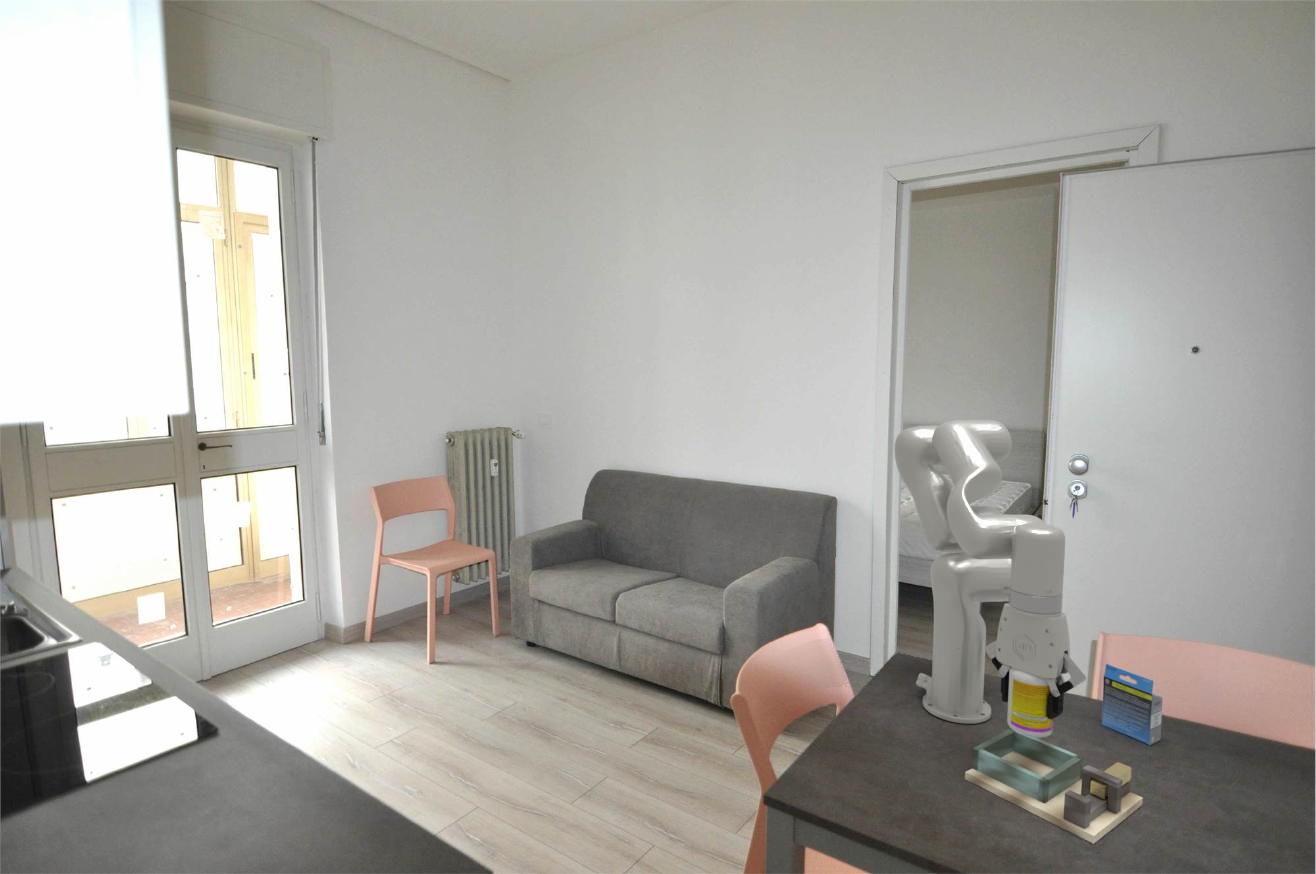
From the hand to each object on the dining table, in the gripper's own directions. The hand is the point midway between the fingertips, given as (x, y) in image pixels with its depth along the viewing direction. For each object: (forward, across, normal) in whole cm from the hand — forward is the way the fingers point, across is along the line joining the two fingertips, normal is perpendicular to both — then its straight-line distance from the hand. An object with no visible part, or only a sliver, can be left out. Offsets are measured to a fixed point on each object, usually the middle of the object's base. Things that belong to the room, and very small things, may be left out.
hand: (1030, 707), depth 118 cm
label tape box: (+13, +3, +31) cm, 34 cm away
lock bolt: (+10, +11, +4) cm, 15 cm away
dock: (+13, +4, 0) cm, 13 cm away
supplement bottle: (+4, 0, 0) cm, 4 cm away
